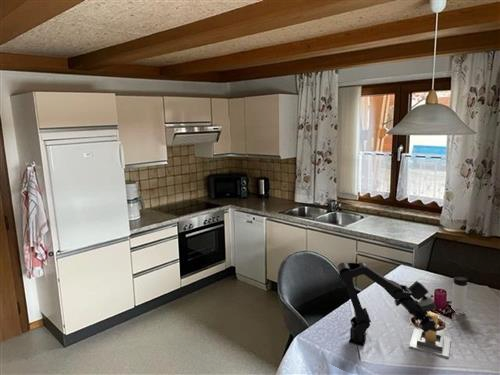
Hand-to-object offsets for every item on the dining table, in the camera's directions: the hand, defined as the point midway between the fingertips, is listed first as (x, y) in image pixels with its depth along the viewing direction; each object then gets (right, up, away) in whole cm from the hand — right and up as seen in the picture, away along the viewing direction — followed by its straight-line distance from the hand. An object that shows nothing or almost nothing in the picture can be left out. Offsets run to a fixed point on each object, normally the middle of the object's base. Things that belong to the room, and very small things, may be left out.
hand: (434, 327), depth 170 cm
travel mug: (+26, -2, +27) cm, 37 cm away
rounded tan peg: (-1, -6, +1) cm, 7 cm away
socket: (-1, -8, +2) cm, 8 cm away
